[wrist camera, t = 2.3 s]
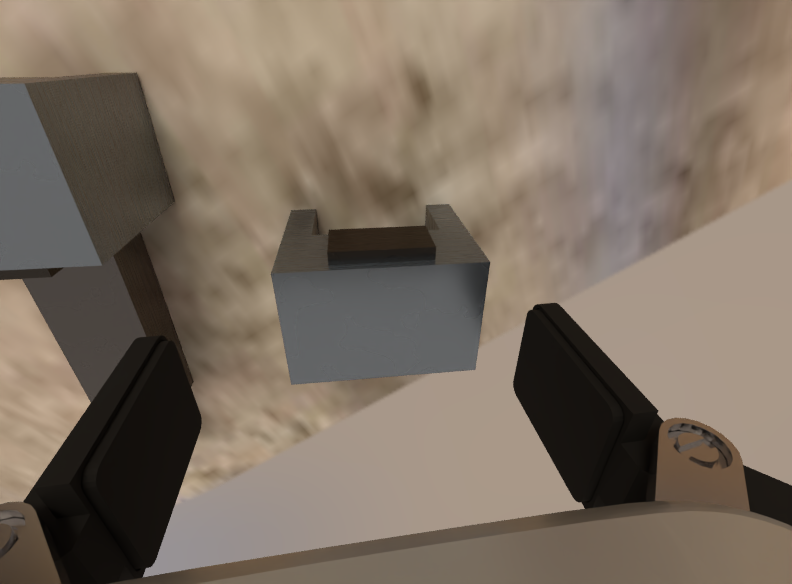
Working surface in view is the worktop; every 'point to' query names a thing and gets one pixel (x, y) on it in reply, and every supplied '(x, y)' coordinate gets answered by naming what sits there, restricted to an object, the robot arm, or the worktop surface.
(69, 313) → the rail
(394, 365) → the grey block
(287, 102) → the worktop surface
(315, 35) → the worktop surface
